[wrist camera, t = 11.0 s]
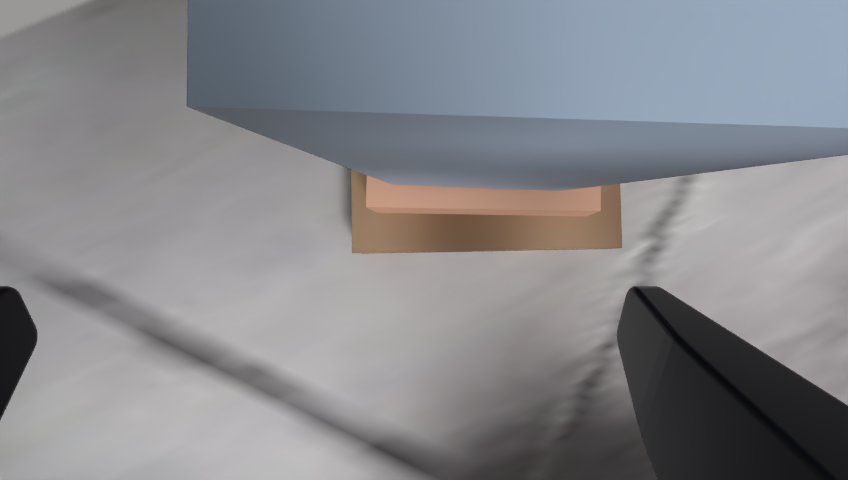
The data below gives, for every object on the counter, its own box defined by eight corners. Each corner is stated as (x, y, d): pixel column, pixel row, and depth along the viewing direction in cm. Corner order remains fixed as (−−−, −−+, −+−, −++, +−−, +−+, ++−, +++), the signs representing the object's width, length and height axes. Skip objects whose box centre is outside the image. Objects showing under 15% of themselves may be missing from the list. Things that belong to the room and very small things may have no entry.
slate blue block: (569, 18, 16) (1119, -817, 3) (560, 191, 16) (1014, 133, 3) (398, 14, 16) (194, -787, 3) (392, 184, 16) (186, 106, 3)
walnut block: (595, 13, 21) (613, -21, 18) (602, 249, 20) (622, 247, 18) (362, 25, 21) (348, -6, 19) (365, 253, 21) (352, 252, 19)
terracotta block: (588, 9, 18) (603, -23, 16) (585, 216, 18) (600, 211, 16) (382, 11, 19) (372, -19, 17) (376, 212, 19) (365, 207, 17)
